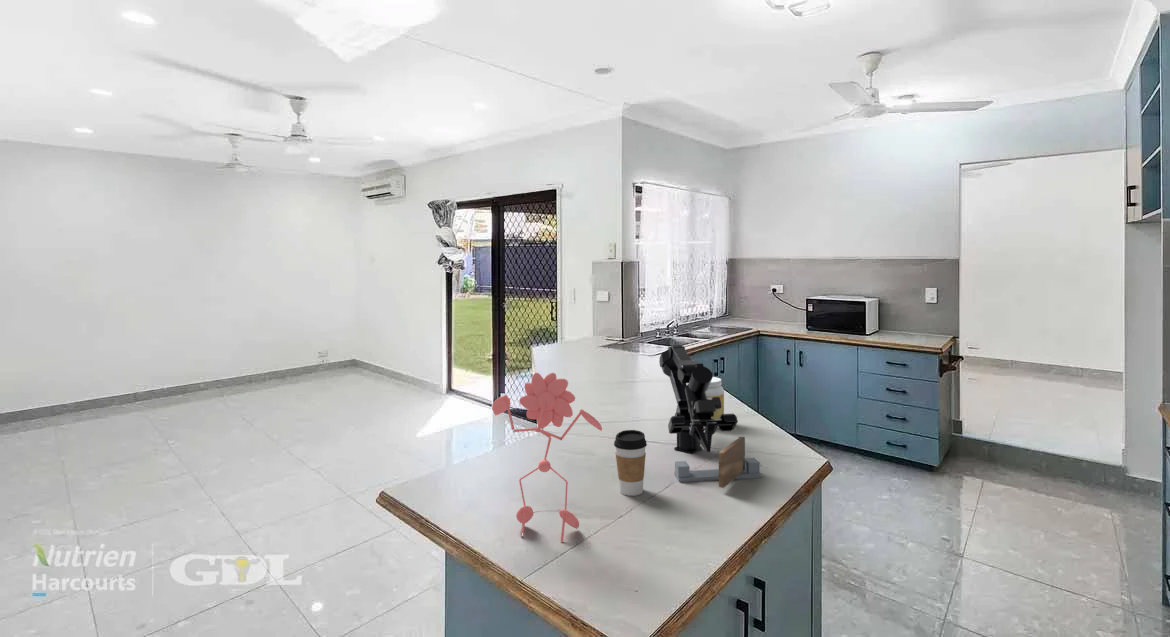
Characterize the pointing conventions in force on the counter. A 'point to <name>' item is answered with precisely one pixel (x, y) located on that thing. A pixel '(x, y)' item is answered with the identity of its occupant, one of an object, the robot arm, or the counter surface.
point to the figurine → (545, 405)
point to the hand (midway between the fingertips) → (708, 451)
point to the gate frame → (715, 472)
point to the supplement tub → (716, 395)
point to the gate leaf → (731, 461)
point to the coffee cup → (630, 461)
